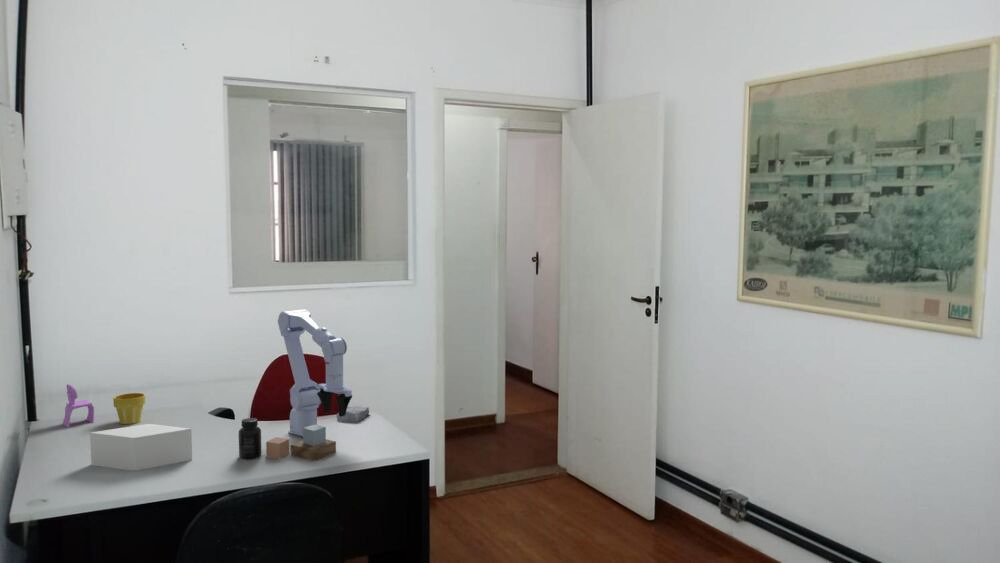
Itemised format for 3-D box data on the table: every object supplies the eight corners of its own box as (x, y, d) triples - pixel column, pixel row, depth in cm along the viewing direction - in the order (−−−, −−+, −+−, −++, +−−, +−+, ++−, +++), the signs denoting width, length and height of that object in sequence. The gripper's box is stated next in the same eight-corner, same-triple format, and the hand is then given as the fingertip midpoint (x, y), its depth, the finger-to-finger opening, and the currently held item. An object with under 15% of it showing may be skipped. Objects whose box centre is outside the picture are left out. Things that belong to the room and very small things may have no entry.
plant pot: (121, 418, 262) (120, 392, 261) (150, 417, 263) (149, 392, 262) (109, 426, 252) (108, 399, 251) (139, 425, 253) (138, 399, 252)
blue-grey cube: (303, 443, 226) (303, 427, 225) (315, 439, 230) (315, 424, 229) (313, 446, 223) (313, 430, 222) (325, 442, 227) (325, 427, 226)
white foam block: (186, 468, 212) (185, 435, 211) (81, 473, 206) (80, 440, 205) (197, 452, 226) (196, 421, 225) (100, 457, 220) (99, 425, 219)
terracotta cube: (266, 457, 223) (266, 441, 222) (276, 452, 227) (276, 437, 227) (279, 459, 221) (279, 443, 221) (289, 454, 226) (289, 439, 225)
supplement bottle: (266, 454, 225) (265, 418, 224) (252, 461, 218) (251, 423, 217) (248, 451, 227) (247, 415, 226) (234, 458, 220) (233, 421, 219)
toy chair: (96, 422, 256) (94, 382, 254) (69, 428, 249) (67, 387, 248) (87, 418, 261) (86, 379, 260) (61, 423, 254) (59, 383, 253)
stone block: (335, 426, 263) (359, 422, 261) (332, 413, 263) (357, 410, 261) (348, 418, 274) (371, 415, 272) (345, 406, 274) (369, 403, 272)
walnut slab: (290, 456, 224) (290, 444, 224) (312, 448, 233) (312, 436, 232) (314, 462, 219) (314, 449, 219) (335, 453, 228) (335, 441, 228)
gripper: (310, 373, 235) (311, 412, 236) (340, 379, 227) (340, 420, 228) (327, 369, 241) (327, 408, 242) (356, 375, 232) (356, 415, 234)
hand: (334, 413), depth 235 cm, fingers open, 7 cm apart
